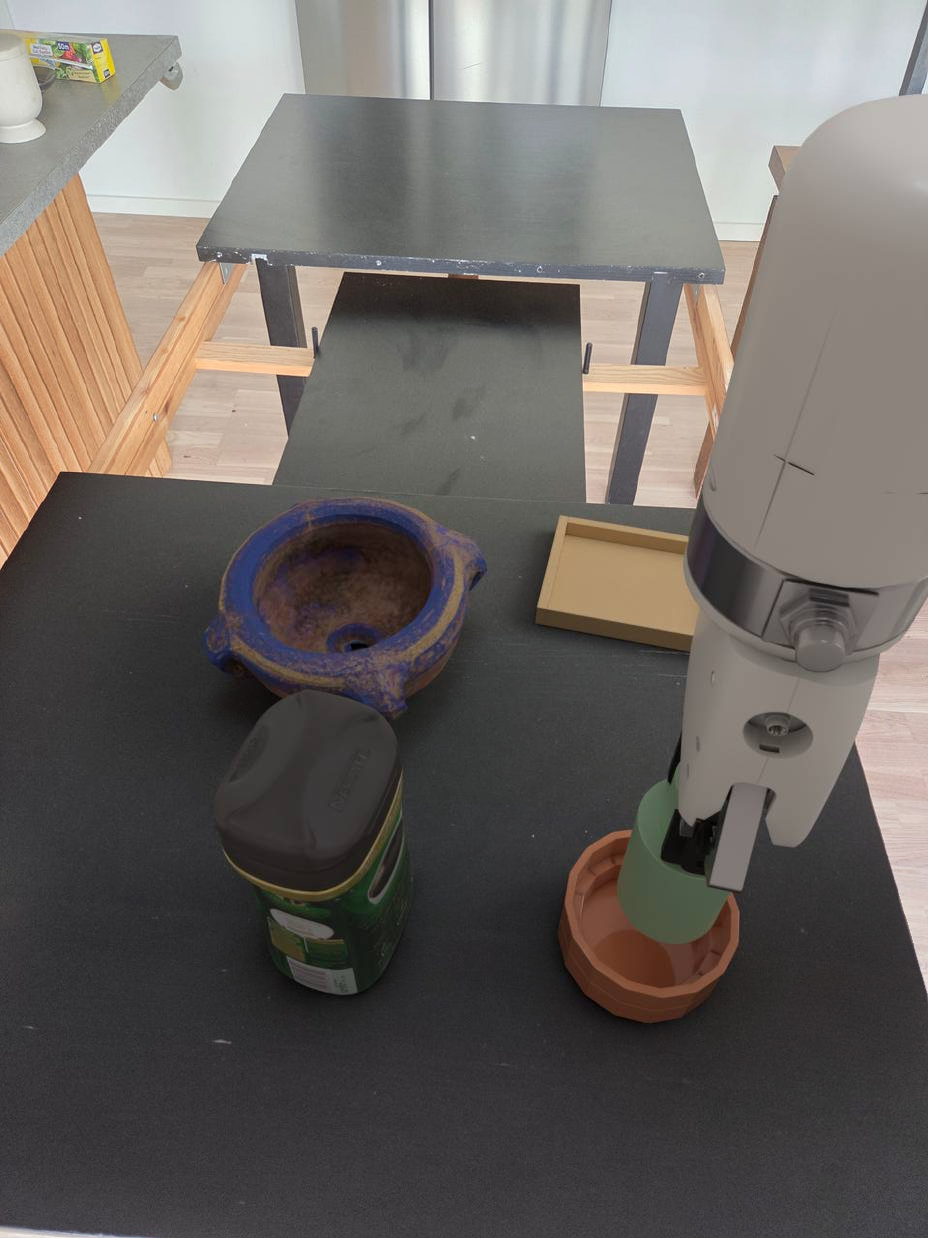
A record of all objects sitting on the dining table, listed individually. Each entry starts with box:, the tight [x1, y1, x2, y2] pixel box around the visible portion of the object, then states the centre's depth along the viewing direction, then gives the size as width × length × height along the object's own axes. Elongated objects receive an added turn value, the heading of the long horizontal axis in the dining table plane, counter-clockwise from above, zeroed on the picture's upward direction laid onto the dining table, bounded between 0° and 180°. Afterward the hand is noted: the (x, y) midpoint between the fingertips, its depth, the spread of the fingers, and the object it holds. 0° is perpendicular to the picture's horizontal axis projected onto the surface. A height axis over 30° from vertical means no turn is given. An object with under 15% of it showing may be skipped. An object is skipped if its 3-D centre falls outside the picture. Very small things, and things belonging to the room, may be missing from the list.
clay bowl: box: [557, 828, 740, 1024], centre depth 50 cm, size 10×10×5 cm
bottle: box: [617, 763, 730, 944], centre depth 43 cm, size 6×6×12 cm
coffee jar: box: [212, 689, 416, 996], centre depth 46 cm, size 10×8×19 cm
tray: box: [534, 515, 700, 653], centre depth 71 cm, size 16×12×2 cm
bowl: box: [201, 496, 488, 723], centre depth 63 cm, size 18×18×10 cm
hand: (697, 821), depth 41 cm, fingers closed on bottle, 3 cm apart
